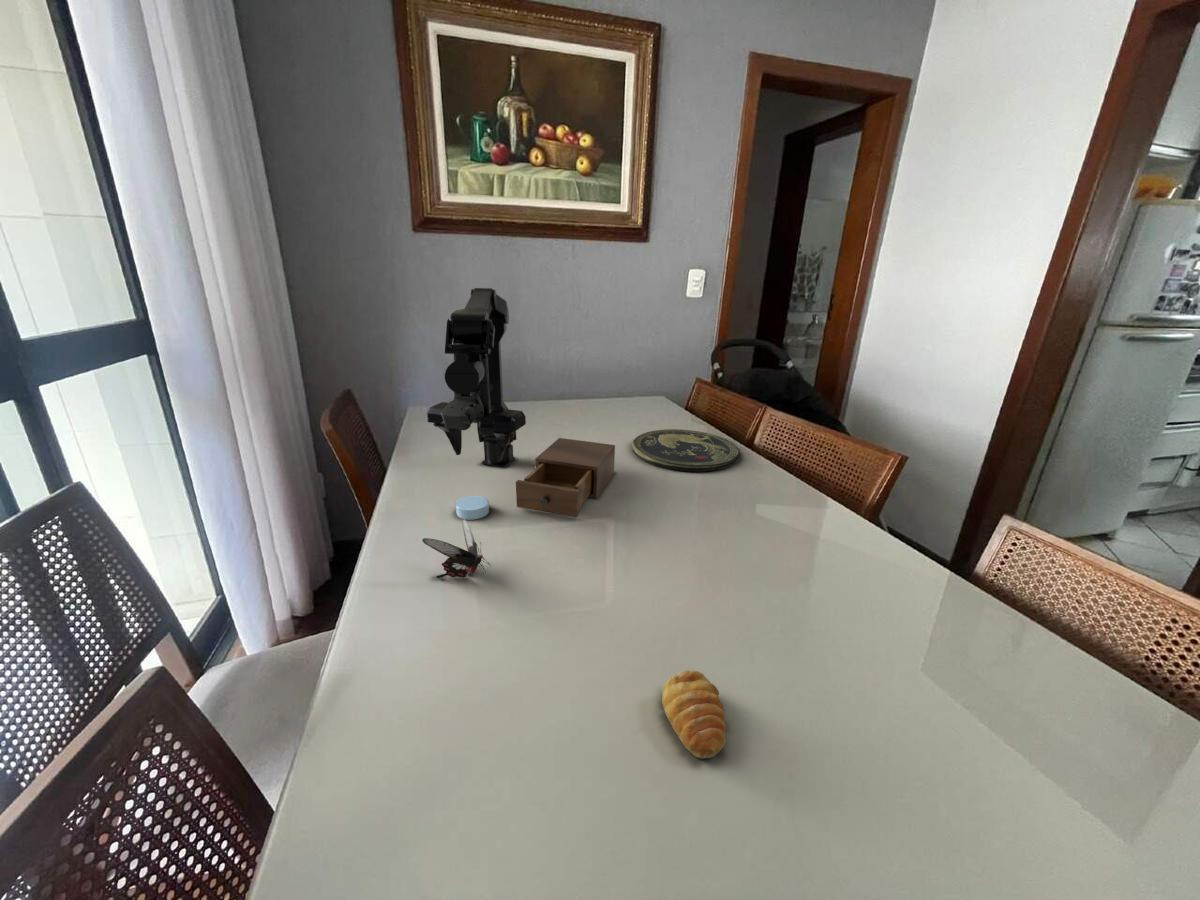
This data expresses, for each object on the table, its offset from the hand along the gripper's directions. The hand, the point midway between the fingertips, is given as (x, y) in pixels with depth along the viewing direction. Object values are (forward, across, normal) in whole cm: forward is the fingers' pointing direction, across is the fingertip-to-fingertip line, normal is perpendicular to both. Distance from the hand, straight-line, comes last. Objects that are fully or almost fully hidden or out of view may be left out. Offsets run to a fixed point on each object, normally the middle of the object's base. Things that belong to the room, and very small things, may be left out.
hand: (478, 457), depth 98 cm
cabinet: (+12, +14, +20) cm, 27 cm away
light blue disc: (+12, -1, -2) cm, 12 cm away
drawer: (+11, +14, +8) cm, 19 cm away
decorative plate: (+12, +36, +49) cm, 62 cm away
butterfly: (+12, +8, -23) cm, 27 cm away
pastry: (+12, +48, -37) cm, 62 cm away
